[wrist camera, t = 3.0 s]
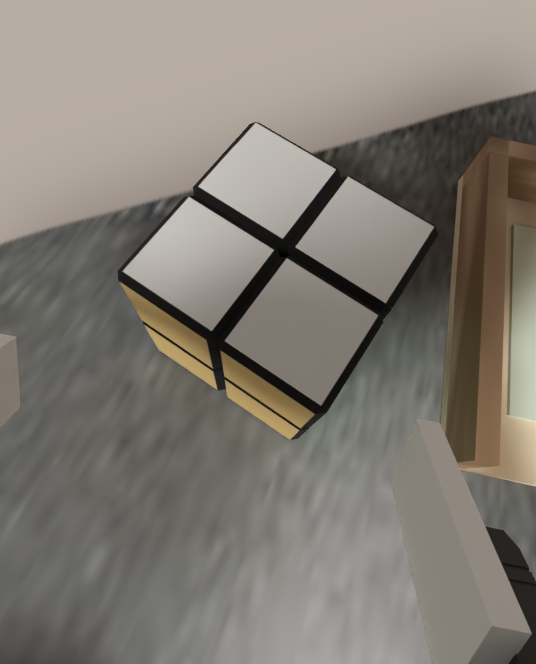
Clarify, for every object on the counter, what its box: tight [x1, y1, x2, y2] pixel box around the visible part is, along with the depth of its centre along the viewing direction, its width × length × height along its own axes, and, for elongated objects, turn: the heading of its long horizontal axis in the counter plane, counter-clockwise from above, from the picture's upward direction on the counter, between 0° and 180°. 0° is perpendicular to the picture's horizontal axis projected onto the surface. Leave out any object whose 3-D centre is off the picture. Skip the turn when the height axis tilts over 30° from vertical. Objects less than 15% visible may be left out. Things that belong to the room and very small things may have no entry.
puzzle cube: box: [118, 122, 438, 440], centre depth 23 cm, size 10×10×10 cm
